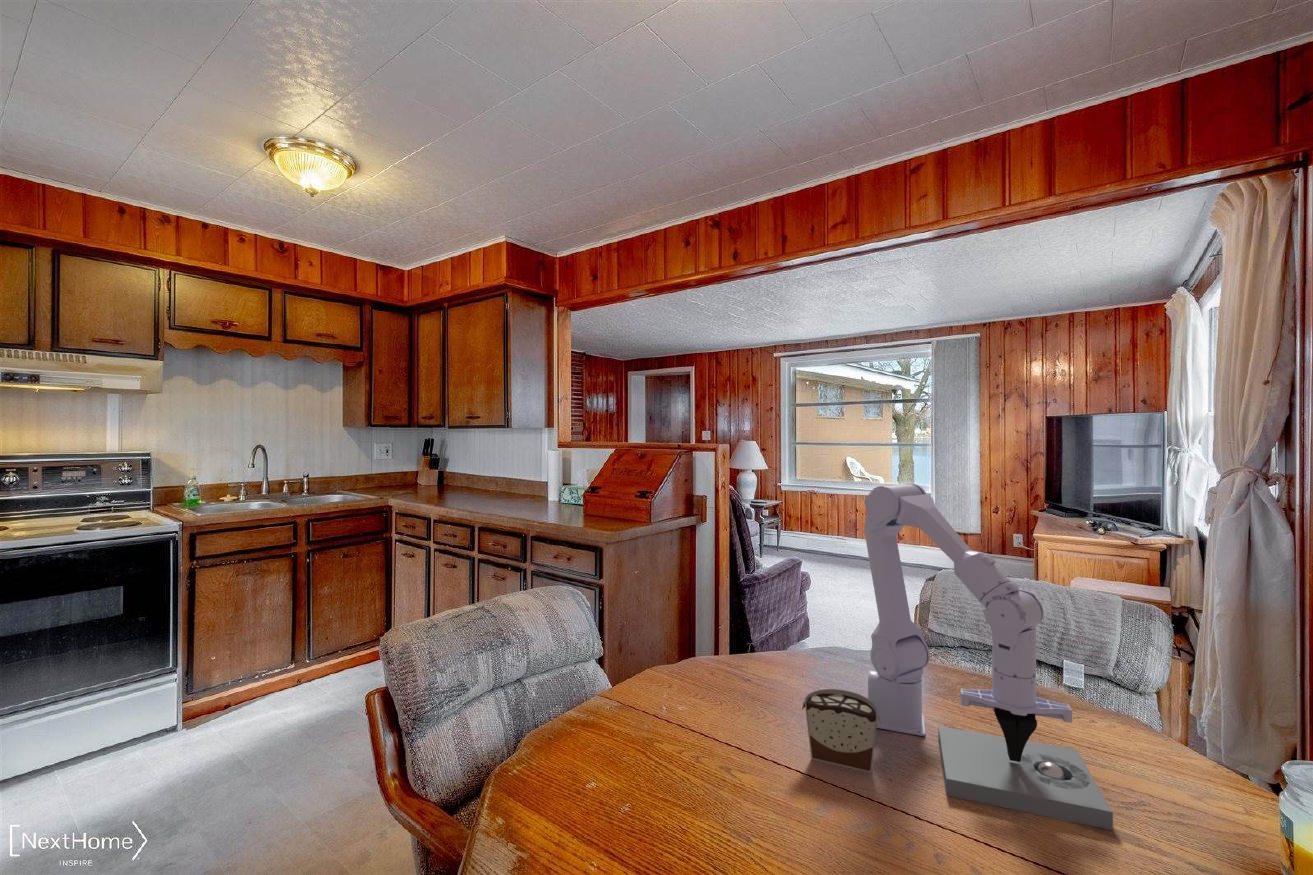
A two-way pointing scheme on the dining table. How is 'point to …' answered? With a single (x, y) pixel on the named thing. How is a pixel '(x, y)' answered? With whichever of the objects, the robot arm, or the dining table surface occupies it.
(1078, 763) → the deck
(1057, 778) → the ball
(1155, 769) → the dining table surface
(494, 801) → the dining table surface
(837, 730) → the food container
